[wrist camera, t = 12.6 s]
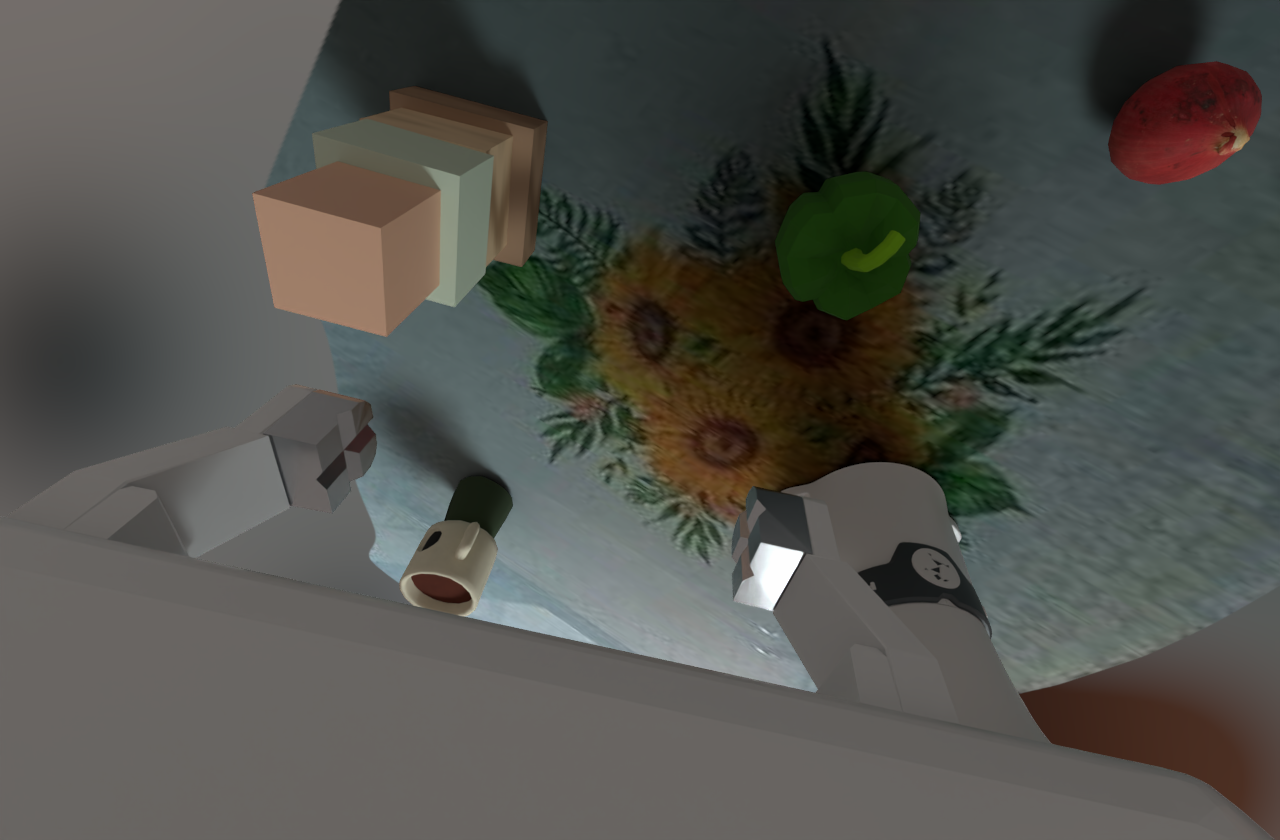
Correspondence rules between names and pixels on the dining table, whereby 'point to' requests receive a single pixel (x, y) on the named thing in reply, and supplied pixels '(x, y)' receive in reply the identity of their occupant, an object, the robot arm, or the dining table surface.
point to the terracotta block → (350, 245)
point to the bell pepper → (848, 244)
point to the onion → (1184, 122)
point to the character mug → (458, 550)
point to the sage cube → (432, 166)
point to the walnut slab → (523, 165)
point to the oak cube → (473, 140)
